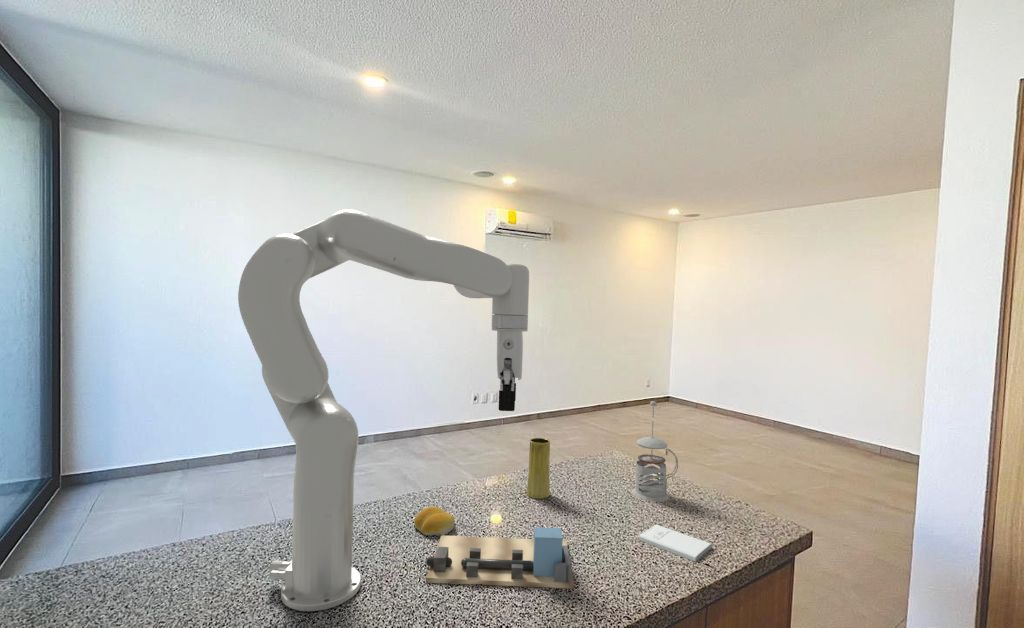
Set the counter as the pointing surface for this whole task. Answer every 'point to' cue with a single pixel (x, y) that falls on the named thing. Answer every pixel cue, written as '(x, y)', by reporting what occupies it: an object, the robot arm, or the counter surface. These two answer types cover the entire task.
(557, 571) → the end holder
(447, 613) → the counter surface
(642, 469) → the french press
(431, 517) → the bread roll
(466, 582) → the board
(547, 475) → the vase
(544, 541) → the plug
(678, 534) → the external hard drive
